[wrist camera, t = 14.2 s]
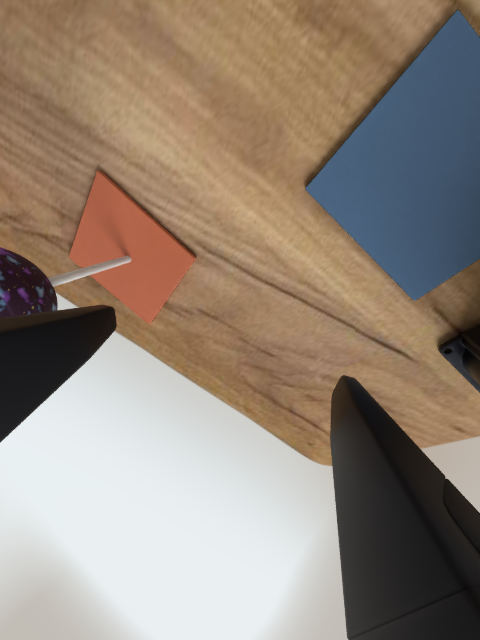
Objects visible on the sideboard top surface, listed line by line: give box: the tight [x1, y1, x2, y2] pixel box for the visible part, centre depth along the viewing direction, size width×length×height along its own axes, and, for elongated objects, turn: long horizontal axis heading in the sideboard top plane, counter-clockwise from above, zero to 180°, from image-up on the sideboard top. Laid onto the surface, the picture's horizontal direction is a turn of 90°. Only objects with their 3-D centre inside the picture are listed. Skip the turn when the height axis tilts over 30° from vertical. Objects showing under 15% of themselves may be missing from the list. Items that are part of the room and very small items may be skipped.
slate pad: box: [305, 10, 480, 301], centre depth 15 cm, size 12×10×1 cm
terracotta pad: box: [69, 171, 196, 324], centre depth 23 cm, size 11×10×1 cm
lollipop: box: [0, 247, 131, 318], centre depth 16 cm, size 7×7×15 cm
